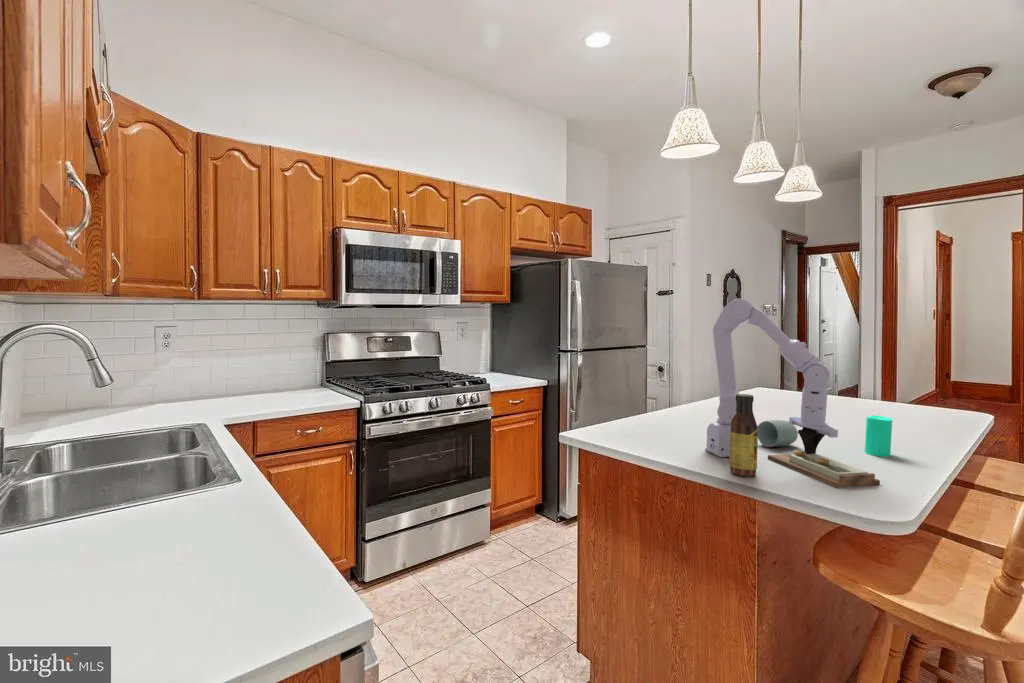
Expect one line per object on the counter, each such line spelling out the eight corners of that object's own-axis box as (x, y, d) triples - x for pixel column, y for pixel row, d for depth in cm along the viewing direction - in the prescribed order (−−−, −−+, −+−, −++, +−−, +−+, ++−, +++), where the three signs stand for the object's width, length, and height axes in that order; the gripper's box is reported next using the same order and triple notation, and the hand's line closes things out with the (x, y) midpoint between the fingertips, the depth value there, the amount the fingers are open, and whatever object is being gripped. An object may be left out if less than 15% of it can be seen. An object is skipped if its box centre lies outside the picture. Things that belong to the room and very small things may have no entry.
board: (836, 487, 117) (837, 472, 117) (767, 458, 139) (768, 445, 139) (879, 484, 119) (880, 469, 119) (805, 456, 142) (805, 443, 141)
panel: (838, 480, 118) (839, 474, 118) (789, 460, 134) (789, 454, 134) (867, 478, 120) (867, 472, 120) (815, 459, 136) (815, 453, 136)
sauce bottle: (759, 478, 123) (762, 397, 122) (732, 476, 124) (735, 396, 123) (752, 470, 129) (755, 393, 128) (726, 468, 130) (729, 392, 129)
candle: (881, 451, 148) (884, 410, 147) (895, 457, 142) (897, 414, 141) (860, 450, 148) (862, 410, 148) (872, 456, 142) (874, 414, 142)
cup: (795, 416, 153) (771, 416, 149) (806, 440, 150) (782, 442, 146) (775, 425, 159) (752, 426, 155) (785, 448, 156) (762, 450, 152)
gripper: (849, 412, 128) (845, 464, 129) (805, 401, 142) (802, 448, 143) (825, 413, 127) (822, 466, 128) (783, 401, 141) (781, 449, 142)
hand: (810, 456), depth 135 cm, fingers closed, pressing on panel
